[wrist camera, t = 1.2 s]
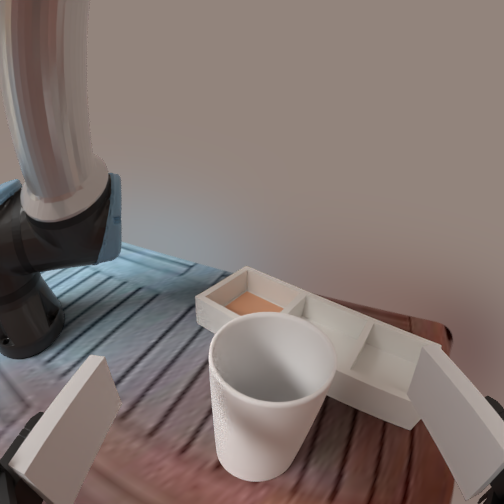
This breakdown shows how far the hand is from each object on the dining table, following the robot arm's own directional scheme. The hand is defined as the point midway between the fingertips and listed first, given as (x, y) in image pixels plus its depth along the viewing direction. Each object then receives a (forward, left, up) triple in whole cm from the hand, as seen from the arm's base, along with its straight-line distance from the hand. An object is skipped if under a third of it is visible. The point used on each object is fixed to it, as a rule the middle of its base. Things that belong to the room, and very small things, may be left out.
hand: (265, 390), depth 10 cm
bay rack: (-5, +22, -20) cm, 30 cm away
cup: (-3, +5, -20) cm, 21 cm away
